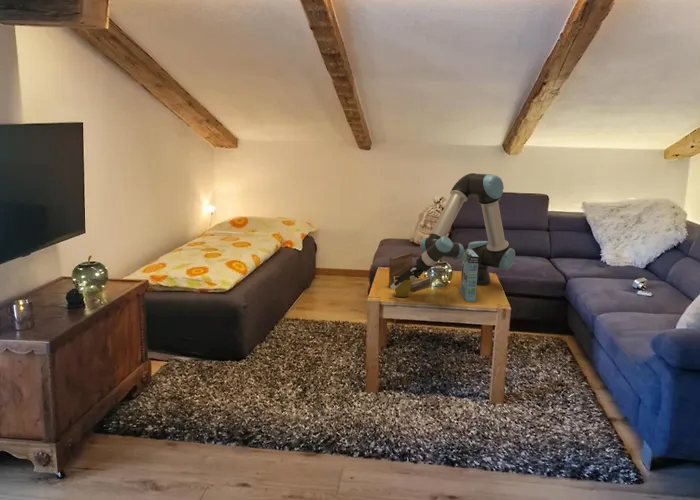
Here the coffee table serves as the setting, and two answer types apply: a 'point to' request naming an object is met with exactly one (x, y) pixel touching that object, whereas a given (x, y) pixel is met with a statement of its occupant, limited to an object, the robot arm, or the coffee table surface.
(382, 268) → the coffee table surface
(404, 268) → the wooden shelf
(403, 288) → the flower pot
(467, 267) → the blue cardboard box
